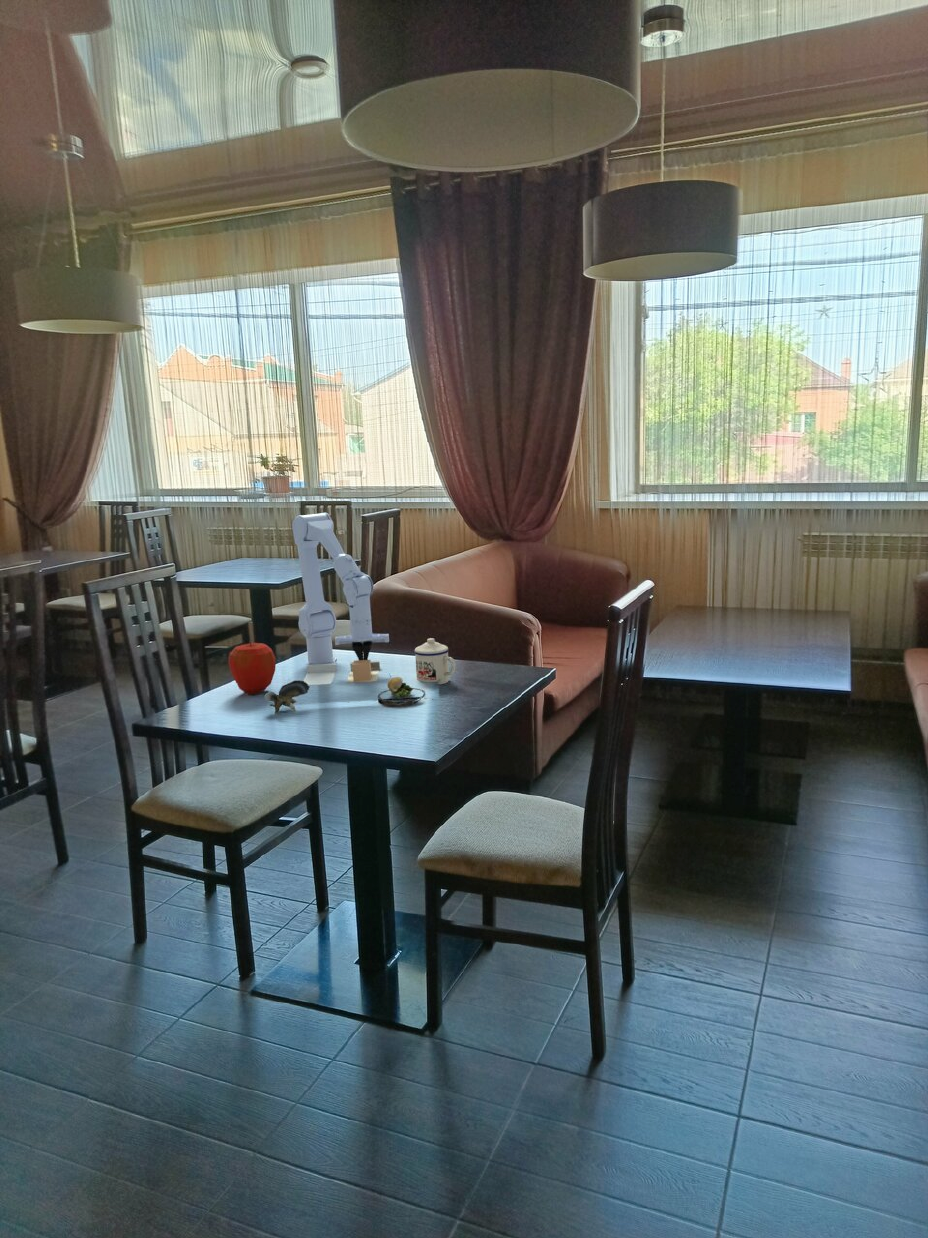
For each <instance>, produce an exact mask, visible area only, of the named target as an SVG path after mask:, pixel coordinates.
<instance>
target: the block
mask: <svg viewBox="0 0 928 1238" xmlns="http://www.w3.org/2000/svg"><path fill="white" fill-rule="evenodd" d="M371 661H372V660H371V659H368V660H359V659H358V660H357V659H356V660H353V661H352V662H353V664H352V668H353V681H367V680H371V676H372V674H371Z"/></svg>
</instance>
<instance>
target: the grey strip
mask: <svg viewBox="0 0 928 1238" xmlns="http://www.w3.org/2000/svg"><path fill="white" fill-rule="evenodd" d="M337 668H338V667H337V663H336V662H329V663H323V664H307V665H306V671H307V673H306V675H305V677H304V678H303V680H302V681H304V682H306V683H307V684H308V686H317V685H331V684H332V683H333V681H334V679H335V676H336V674H337V671H338V669H337Z"/></svg>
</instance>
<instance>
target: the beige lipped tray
mask: <svg viewBox="0 0 928 1238" xmlns="http://www.w3.org/2000/svg"><path fill="white" fill-rule="evenodd" d="M352 664H353V661H352V662H350V663H349V665H350V666H349V667H350V672H349V674H348V678H347V681H346V684H353V683H354V684H355V683H356V684H357V683H371V682H372V683H373V682H378V678H379V674H380V670H381V669H380V668H381V665H380V660H371V674H372V676H371V680H367V681H353V668H352Z"/></svg>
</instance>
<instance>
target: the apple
mask: <svg viewBox="0 0 928 1238" xmlns="http://www.w3.org/2000/svg"><path fill="white" fill-rule="evenodd" d="M248 642H249V643H245V644H241V645H237V646H235V647H234V648H233V649H232V650H231V651H230V653H229V655H228V656H229V657H228V660H227V661H228V662H227V663H228V666H229V669H230V673H231V675H232V678H233V680H234V682H235V683H236V685H237V686H238V689H239V690H241V691H242V692H243V693H244V694H246V695H252V696H253V695H258V694H260V693H262V692H264V691H265V690H266V689H267V688H268V687H269V686H270V685H271V684H272V681H273V678H274V674H275V672H276V665H277V664H276V663H277V662H276V661H277V660H276V659H277V658H276V656H275V654H274V653H275V652H274V651H273V650H272V648H270V646H268V645H267V644H265V643H262V642H261V643H259V642H251V640H249V641H248Z"/></svg>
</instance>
